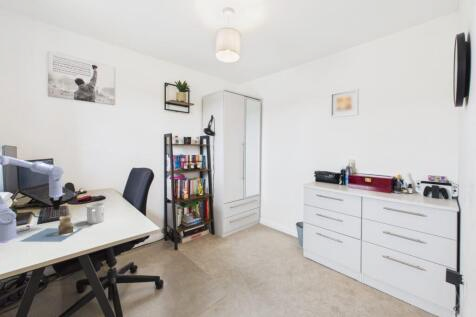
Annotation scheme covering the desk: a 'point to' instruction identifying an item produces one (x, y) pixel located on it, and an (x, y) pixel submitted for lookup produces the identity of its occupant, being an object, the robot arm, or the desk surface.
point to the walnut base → (65, 230)
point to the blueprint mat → (49, 235)
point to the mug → (95, 213)
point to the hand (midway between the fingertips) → (56, 209)
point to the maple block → (65, 221)
